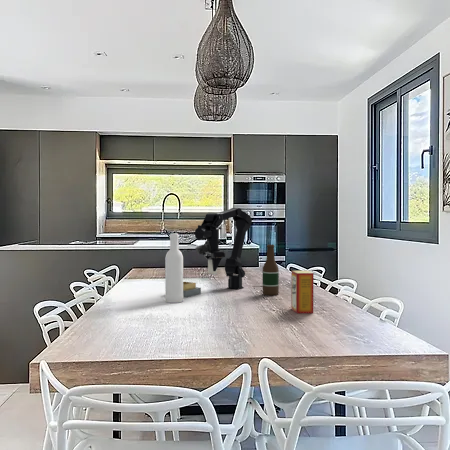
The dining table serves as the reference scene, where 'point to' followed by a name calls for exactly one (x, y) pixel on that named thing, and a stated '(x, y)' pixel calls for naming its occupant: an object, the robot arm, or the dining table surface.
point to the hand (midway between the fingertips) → (212, 270)
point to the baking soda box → (302, 291)
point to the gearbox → (190, 289)
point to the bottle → (174, 272)
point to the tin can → (211, 267)
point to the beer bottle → (270, 274)
